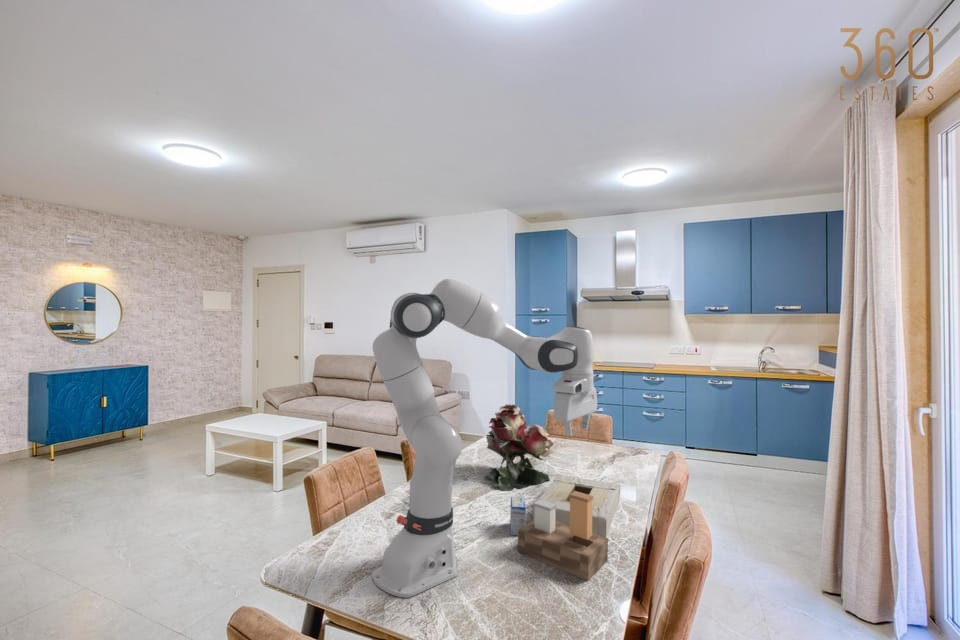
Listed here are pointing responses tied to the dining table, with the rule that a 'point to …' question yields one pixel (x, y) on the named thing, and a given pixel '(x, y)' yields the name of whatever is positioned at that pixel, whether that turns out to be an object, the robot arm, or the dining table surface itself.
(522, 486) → the rose bouquet
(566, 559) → the block
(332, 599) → the dining table surface
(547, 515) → the cream plug
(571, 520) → the orange plug
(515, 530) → the medicine box
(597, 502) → the pale hollow square block
